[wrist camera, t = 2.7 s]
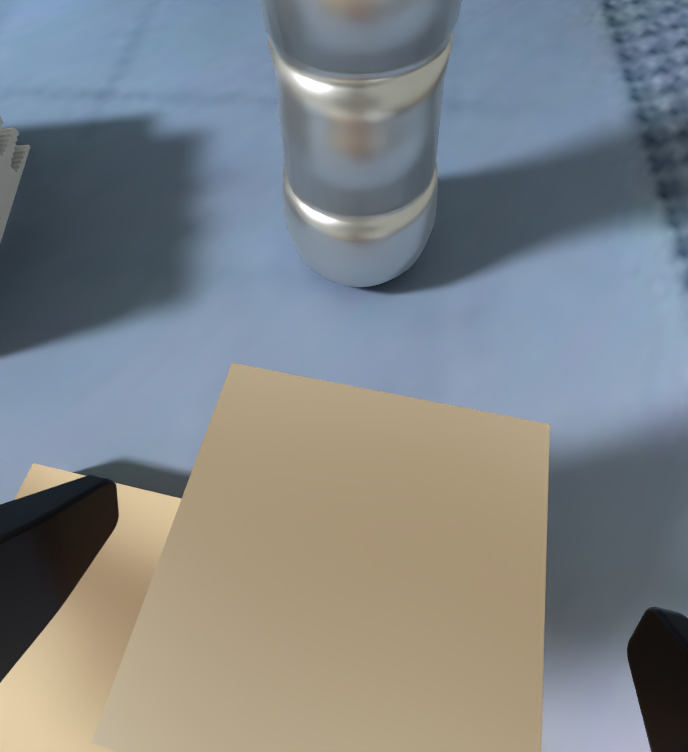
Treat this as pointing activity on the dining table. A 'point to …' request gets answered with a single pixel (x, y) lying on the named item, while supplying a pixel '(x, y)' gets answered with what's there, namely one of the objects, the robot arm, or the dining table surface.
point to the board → (84, 629)
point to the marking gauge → (344, 581)
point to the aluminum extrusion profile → (10, 171)
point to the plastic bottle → (360, 129)
